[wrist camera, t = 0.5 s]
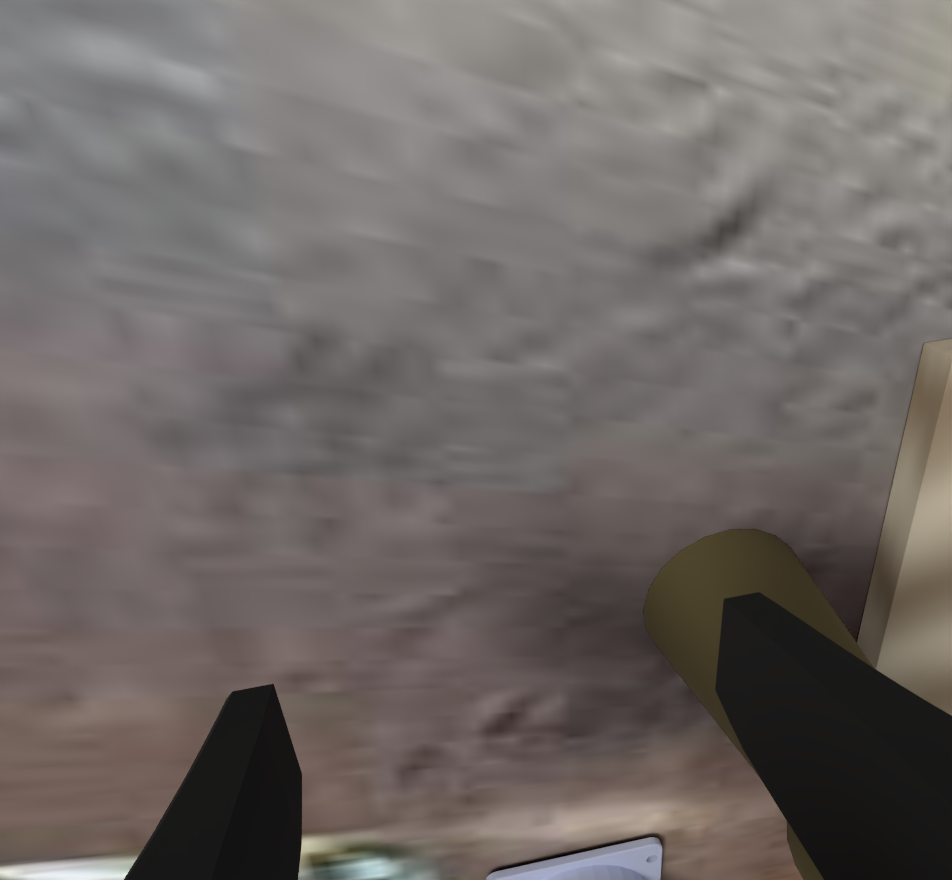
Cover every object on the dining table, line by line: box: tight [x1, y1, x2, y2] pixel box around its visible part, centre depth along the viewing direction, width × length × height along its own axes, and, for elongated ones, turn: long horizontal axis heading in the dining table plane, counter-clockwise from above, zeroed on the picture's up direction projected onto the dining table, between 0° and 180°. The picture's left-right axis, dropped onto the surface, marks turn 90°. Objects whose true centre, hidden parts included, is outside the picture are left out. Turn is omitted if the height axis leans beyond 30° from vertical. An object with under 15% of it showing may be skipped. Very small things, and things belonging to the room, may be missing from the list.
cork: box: [643, 529, 875, 880], centre depth 20 cm, size 6×6×11 cm
